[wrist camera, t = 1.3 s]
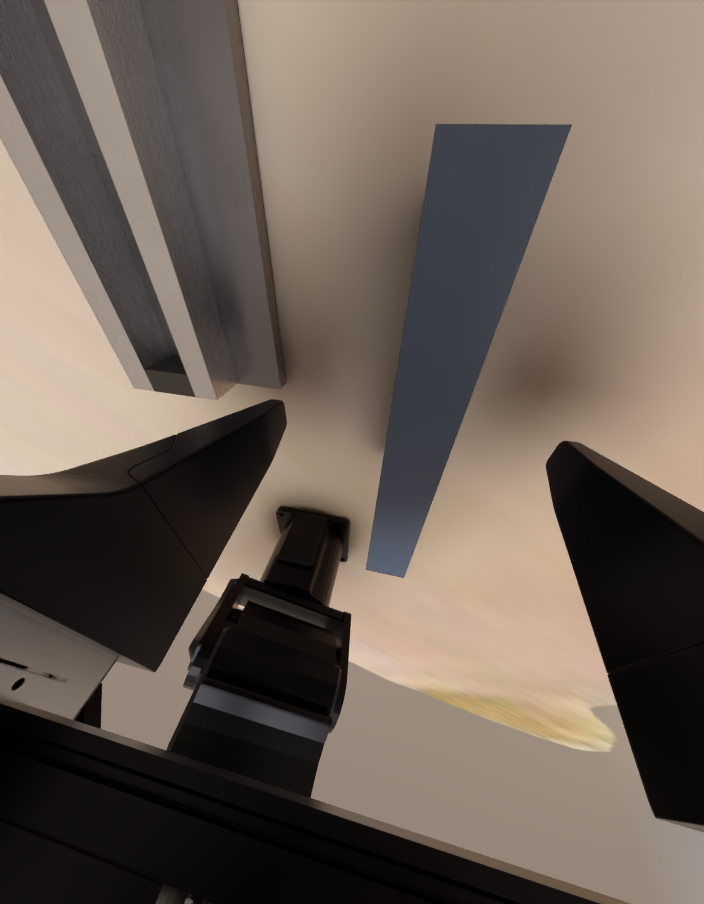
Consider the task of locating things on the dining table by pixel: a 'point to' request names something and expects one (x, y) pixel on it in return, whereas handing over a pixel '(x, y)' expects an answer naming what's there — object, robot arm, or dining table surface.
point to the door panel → (455, 308)
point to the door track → (148, 180)
